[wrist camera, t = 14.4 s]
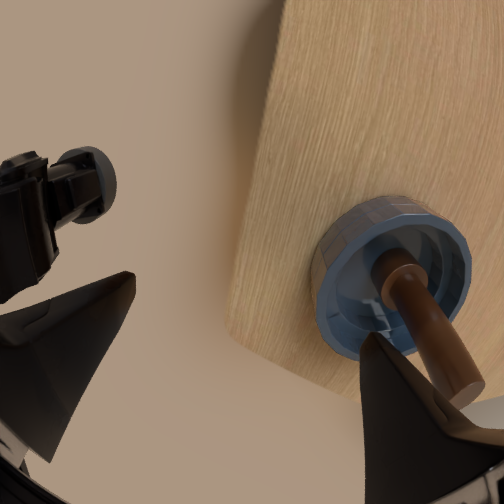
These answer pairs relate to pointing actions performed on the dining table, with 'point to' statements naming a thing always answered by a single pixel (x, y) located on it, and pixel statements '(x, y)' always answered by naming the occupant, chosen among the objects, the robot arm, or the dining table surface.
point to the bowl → (362, 260)
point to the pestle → (427, 326)
